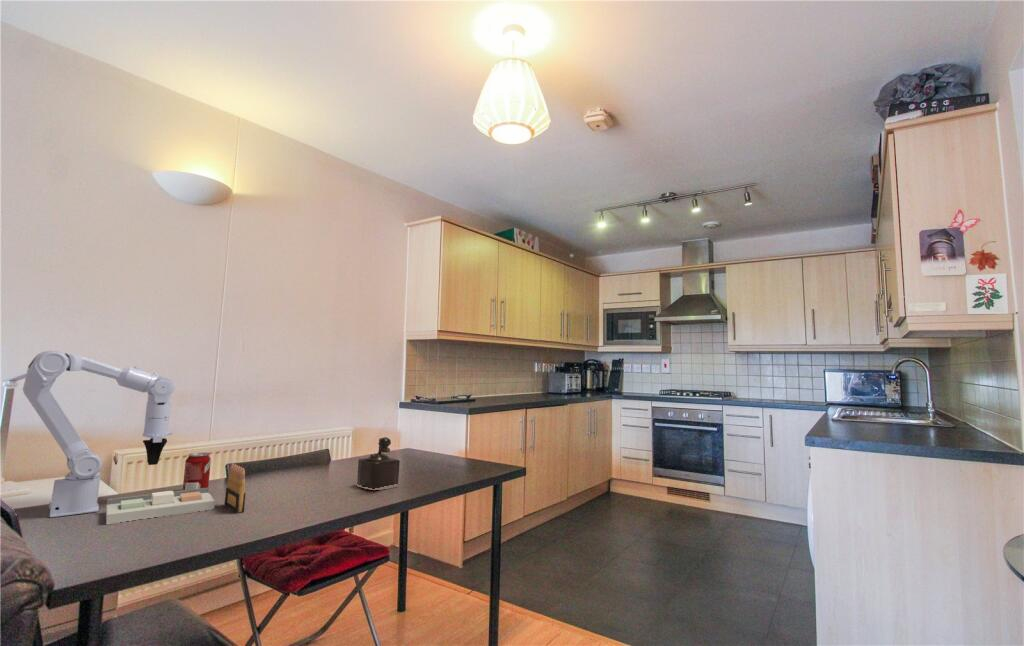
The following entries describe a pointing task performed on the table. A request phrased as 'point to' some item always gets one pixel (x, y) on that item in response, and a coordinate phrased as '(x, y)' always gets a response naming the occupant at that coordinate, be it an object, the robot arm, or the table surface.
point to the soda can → (197, 471)
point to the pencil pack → (235, 489)
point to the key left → (131, 503)
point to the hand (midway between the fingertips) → (152, 464)
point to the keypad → (157, 507)
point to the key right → (190, 496)
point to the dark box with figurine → (378, 468)
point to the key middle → (162, 498)
